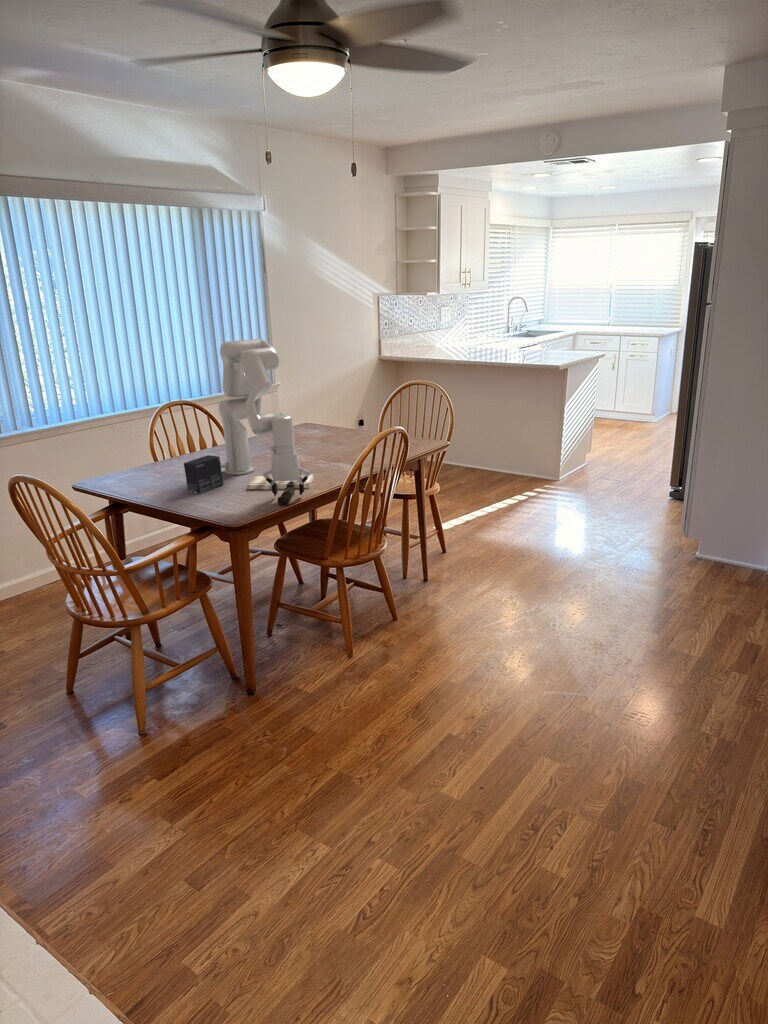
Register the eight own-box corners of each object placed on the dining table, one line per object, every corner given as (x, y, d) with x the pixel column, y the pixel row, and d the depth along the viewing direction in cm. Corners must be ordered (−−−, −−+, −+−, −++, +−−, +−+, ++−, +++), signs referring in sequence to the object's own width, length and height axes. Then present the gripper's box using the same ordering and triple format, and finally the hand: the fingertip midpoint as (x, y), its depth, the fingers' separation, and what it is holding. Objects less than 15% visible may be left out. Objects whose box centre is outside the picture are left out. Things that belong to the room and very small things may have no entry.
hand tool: (288, 506, 255) (287, 494, 253) (277, 506, 255) (276, 494, 254) (300, 491, 273) (299, 479, 271) (290, 491, 273) (289, 479, 272)
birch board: (248, 489, 276) (247, 484, 275) (254, 481, 288) (254, 476, 287) (309, 488, 275) (308, 482, 274) (313, 479, 286) (313, 474, 286)
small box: (212, 483, 288) (208, 454, 284) (224, 485, 284) (220, 456, 280) (187, 492, 278) (183, 462, 274) (199, 494, 274) (195, 464, 270)
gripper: (258, 452, 255) (263, 498, 260) (306, 451, 254) (310, 496, 259) (263, 447, 262) (267, 491, 267) (309, 446, 261) (312, 490, 266)
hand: (288, 494), depth 263 cm, fingers open, 9 cm apart
